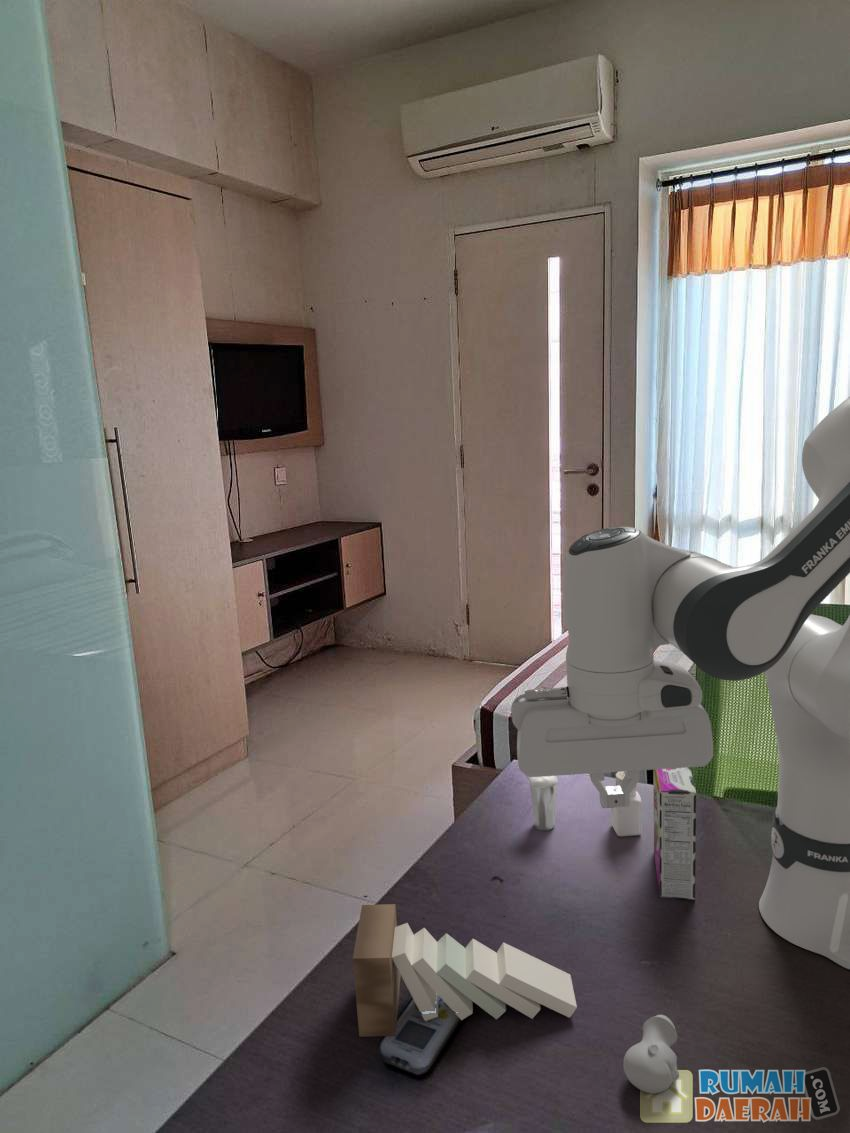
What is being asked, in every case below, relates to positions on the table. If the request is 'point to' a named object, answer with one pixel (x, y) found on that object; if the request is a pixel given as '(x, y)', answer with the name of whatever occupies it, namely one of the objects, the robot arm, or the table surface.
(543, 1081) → the table surface
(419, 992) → the domino
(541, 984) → the domino
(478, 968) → the domino
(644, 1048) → the smooth white sculpture
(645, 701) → the robot arm
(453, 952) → the domino
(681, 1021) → the table surface
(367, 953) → the end block
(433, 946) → the domino
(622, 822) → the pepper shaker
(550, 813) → the milkshake
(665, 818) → the candy bar box
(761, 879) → the table surface
